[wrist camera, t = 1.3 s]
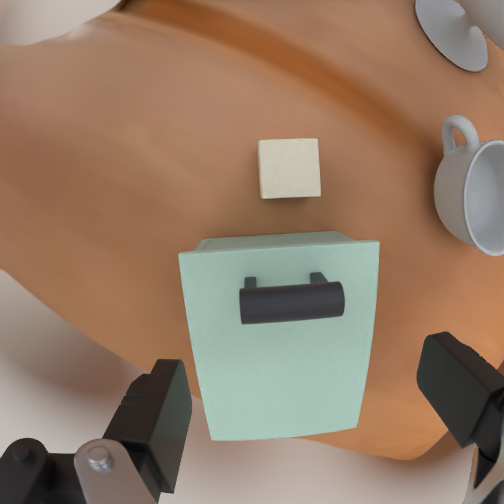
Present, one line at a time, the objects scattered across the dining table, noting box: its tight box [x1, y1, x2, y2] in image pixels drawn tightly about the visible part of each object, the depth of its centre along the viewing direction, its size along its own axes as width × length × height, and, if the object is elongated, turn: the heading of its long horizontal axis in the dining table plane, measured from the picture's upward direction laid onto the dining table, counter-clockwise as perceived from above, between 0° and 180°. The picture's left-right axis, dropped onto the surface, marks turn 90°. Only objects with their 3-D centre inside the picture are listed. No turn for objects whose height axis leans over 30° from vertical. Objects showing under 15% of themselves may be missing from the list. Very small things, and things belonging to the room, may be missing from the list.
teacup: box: [434, 114, 504, 256], centre depth 22 cm, size 14×11×8 cm
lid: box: [178, 240, 379, 440], centre depth 18 cm, size 16×13×5 cm
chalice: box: [415, 0, 504, 71], centre depth 14 cm, size 14×14×15 cm
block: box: [257, 138, 321, 199], centre depth 24 cm, size 4×4×4 cm
